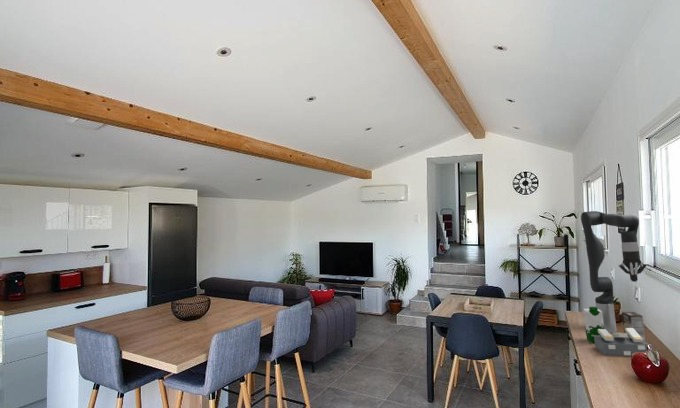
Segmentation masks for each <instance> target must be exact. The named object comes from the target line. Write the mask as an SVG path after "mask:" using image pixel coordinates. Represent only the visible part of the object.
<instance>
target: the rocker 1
mask: <svg viewBox="0 0 680 408" xmlns="http://www.w3.org/2000/svg"><path fill="white" fill-rule="evenodd" d="M598 333H599V334H600V335H601V336H602V337H603V338H604V339H605V340H606V341H614V337H615V336H612V333H611V332H608V331H607V330H606V329H598Z"/></svg>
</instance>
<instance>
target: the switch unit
mask: <svg viewBox="0 0 680 408" xmlns="http://www.w3.org/2000/svg"><path fill="white" fill-rule="evenodd" d="M613 337H614V341H606V340H605V339H604V338H603V337H602V336H594V341H595V343H594V348H595V347H596V348H595V349H596V350H597V351H599V352H600V353H601V354H602V355H604V357H605V356H606V357H607V356H609V357H633V356H632V354H633V353H635V352H644V353H645V352H646V351H647V345H649V346H650V344H649V343H648V342H646V341H645V342H644V341H643V342H634V341H633V340H632V338H631V337H615V336H613Z"/></svg>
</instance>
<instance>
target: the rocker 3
mask: <svg viewBox="0 0 680 408" xmlns="http://www.w3.org/2000/svg"><path fill="white" fill-rule="evenodd" d="M625 331H626V332H627V334H628V335H629V336H630V337H631V338H632V340H633V341H634V342H643V339H642V338H641V336H640V335H639V334H638V333H637V332H636V331H635V330H634V328H625Z"/></svg>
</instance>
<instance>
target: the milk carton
mask: <svg viewBox="0 0 680 408" xmlns="http://www.w3.org/2000/svg"><path fill="white" fill-rule="evenodd" d="M582 311H583V321H584V328H585V329H584V330H585V335H586V339H587V341H588V342H589V343H590V344H595V341H594V336H601V335H600V334H599V333H598V329H604V324H603V315H602V311H600V310H599V309H598V308H597V307H596V306H589V308H583V310H582Z"/></svg>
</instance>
